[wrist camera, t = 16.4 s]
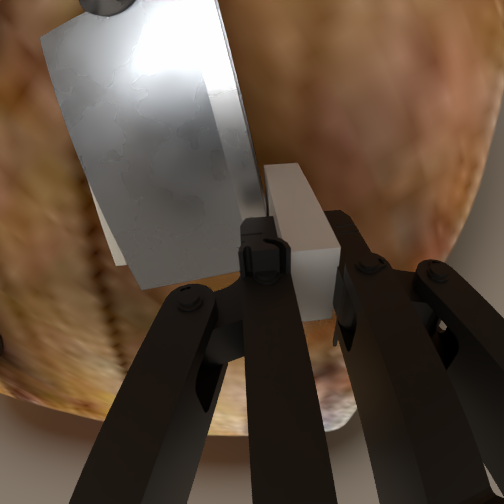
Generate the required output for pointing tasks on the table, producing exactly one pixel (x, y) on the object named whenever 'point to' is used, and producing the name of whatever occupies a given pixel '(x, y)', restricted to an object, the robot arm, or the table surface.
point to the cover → (159, 132)
